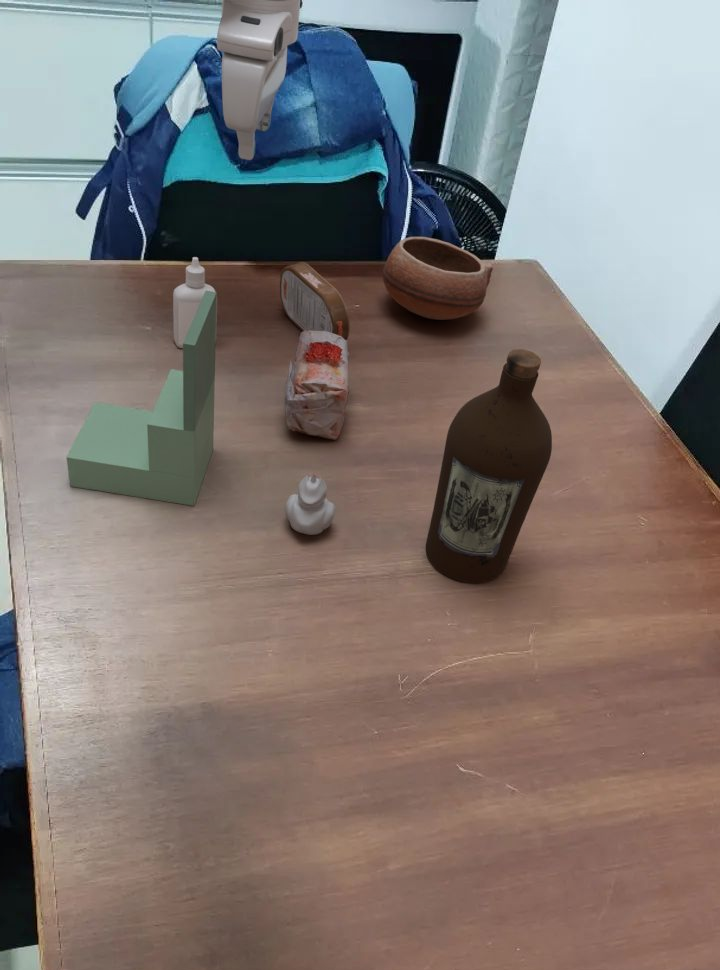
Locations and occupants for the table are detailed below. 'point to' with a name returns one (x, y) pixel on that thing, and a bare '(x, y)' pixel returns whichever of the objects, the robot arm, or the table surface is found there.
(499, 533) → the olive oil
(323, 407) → the food item
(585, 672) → the table surface
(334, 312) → the tin
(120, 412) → the step shelf
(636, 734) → the table surface
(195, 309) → the eye dropper bottle
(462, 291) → the bowl
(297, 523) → the rubber duck
